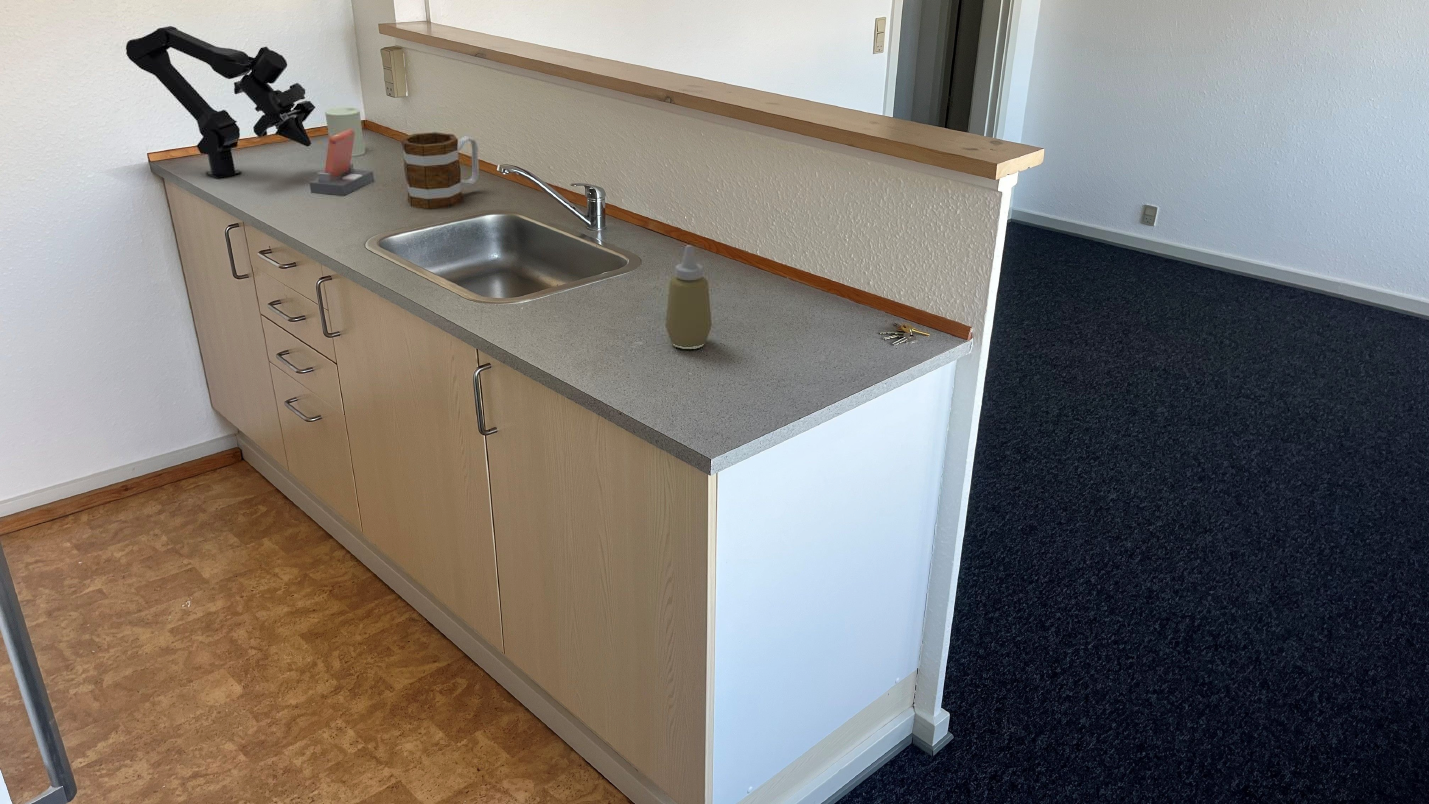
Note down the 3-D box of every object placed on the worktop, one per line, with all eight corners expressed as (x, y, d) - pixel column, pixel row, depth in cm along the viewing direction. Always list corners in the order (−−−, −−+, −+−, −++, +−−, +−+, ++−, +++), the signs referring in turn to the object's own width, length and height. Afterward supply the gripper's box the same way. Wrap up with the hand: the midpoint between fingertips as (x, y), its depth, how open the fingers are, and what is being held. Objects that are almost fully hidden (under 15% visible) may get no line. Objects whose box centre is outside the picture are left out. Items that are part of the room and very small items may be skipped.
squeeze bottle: (664, 335, 188) (664, 238, 180) (709, 334, 189) (711, 238, 180) (666, 354, 181) (666, 254, 173) (713, 353, 182) (715, 254, 173)
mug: (426, 213, 248) (419, 149, 241) (396, 200, 256) (388, 138, 249) (496, 196, 260) (491, 135, 253) (465, 185, 268) (460, 125, 261)
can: (372, 152, 295) (367, 108, 289) (346, 159, 288) (339, 114, 282) (350, 147, 299) (344, 104, 294) (323, 153, 292) (316, 110, 287)
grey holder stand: (311, 192, 260) (308, 174, 258) (342, 177, 272) (340, 160, 270) (343, 195, 258) (341, 177, 256) (374, 180, 270) (371, 163, 268)
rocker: (324, 175, 260) (329, 135, 255) (342, 167, 267) (347, 127, 262) (331, 179, 260) (337, 138, 255) (349, 170, 267) (355, 130, 262)
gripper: (256, 81, 247) (304, 133, 250) (303, 67, 263) (348, 116, 266) (232, 112, 253) (280, 162, 256) (280, 96, 269) (324, 144, 272)
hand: (309, 145), depth 262 cm, fingers closed
